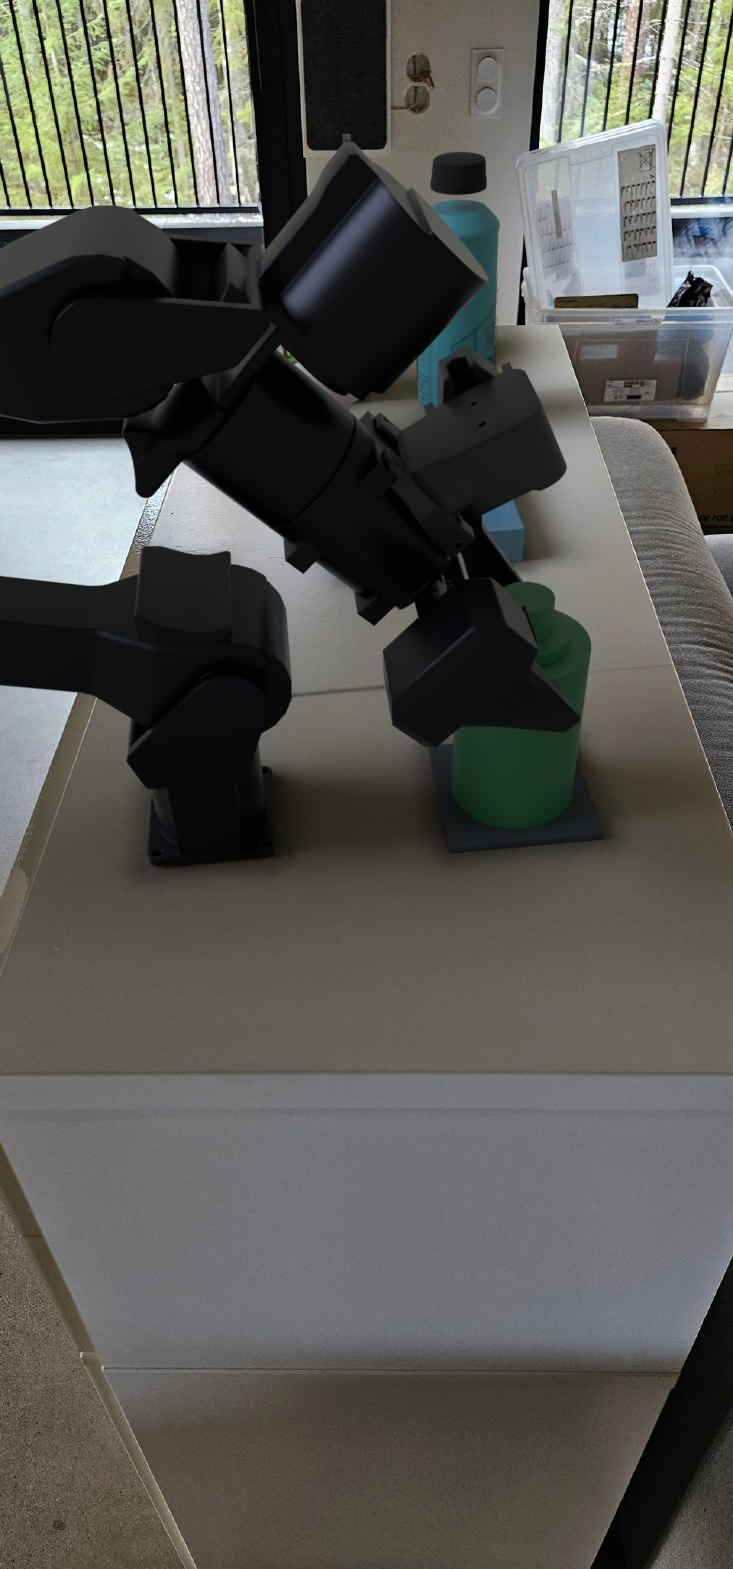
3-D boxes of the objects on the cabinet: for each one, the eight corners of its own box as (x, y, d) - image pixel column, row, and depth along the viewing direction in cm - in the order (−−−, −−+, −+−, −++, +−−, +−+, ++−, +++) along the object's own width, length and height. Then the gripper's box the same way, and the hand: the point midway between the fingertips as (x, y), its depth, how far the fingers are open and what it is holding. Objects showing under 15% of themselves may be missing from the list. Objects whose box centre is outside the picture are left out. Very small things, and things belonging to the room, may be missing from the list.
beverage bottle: (488, 440, 90) (501, 168, 77) (408, 435, 91) (407, 166, 78) (497, 406, 95) (511, 145, 81) (421, 402, 96) (422, 143, 82)
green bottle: (500, 847, 55) (514, 653, 47) (428, 776, 60) (430, 587, 51) (597, 798, 58) (626, 606, 50) (521, 733, 62) (537, 546, 54)
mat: (604, 838, 56) (605, 833, 56) (449, 853, 56) (449, 847, 56) (568, 738, 62) (569, 733, 62) (428, 750, 62) (428, 745, 61)
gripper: (491, 426, 35) (758, 675, 43) (416, 244, 49) (629, 458, 57) (267, 649, 40) (544, 835, 48) (256, 426, 54) (473, 600, 62)
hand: (550, 664), depth 53 cm, fingers open, 9 cm apart
